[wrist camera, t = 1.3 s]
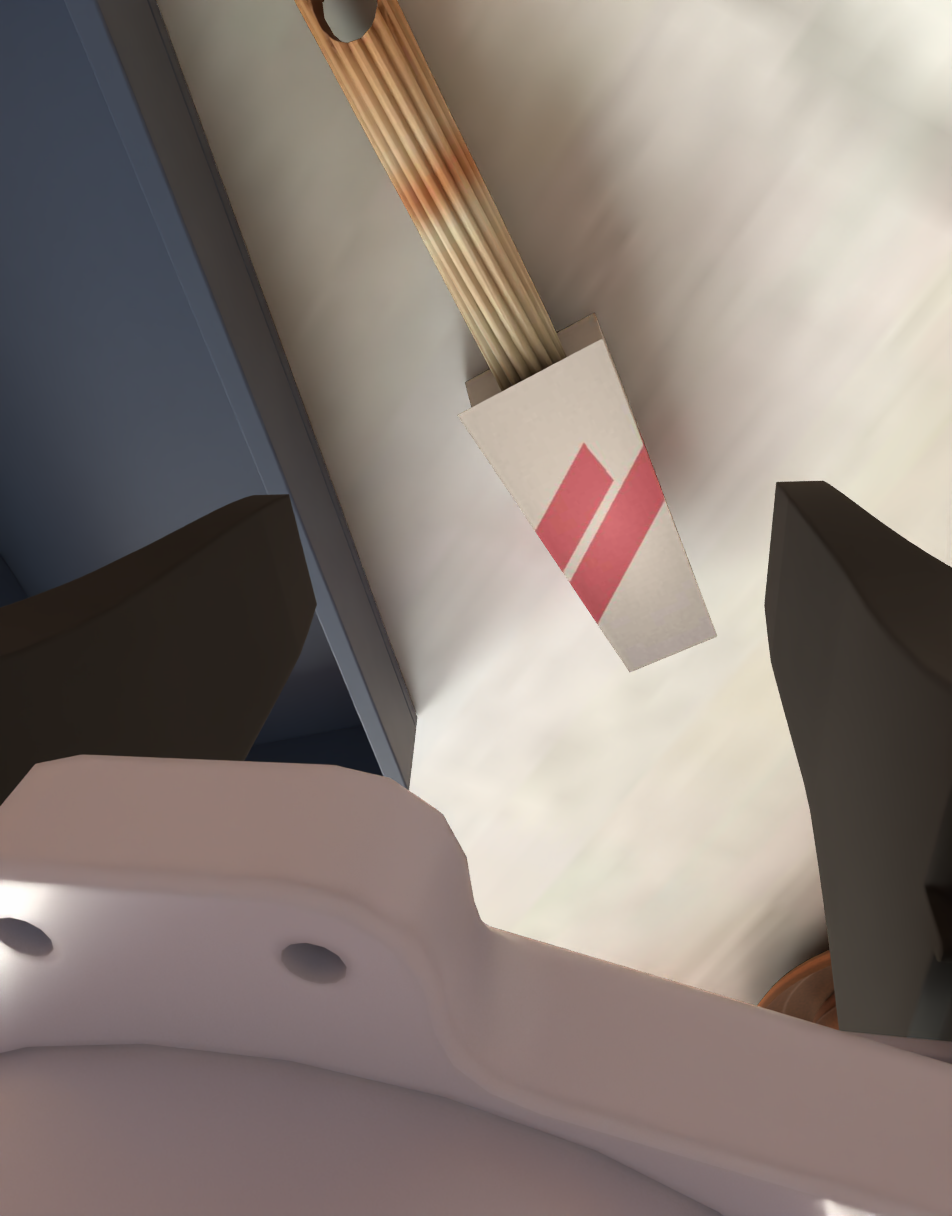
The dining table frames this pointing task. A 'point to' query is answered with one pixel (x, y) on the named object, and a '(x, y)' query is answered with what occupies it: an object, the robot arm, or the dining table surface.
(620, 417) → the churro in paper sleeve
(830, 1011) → the cup and saucer
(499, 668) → the dining table surface
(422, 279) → the dining table surface
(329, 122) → the dining table surface
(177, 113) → the tray
